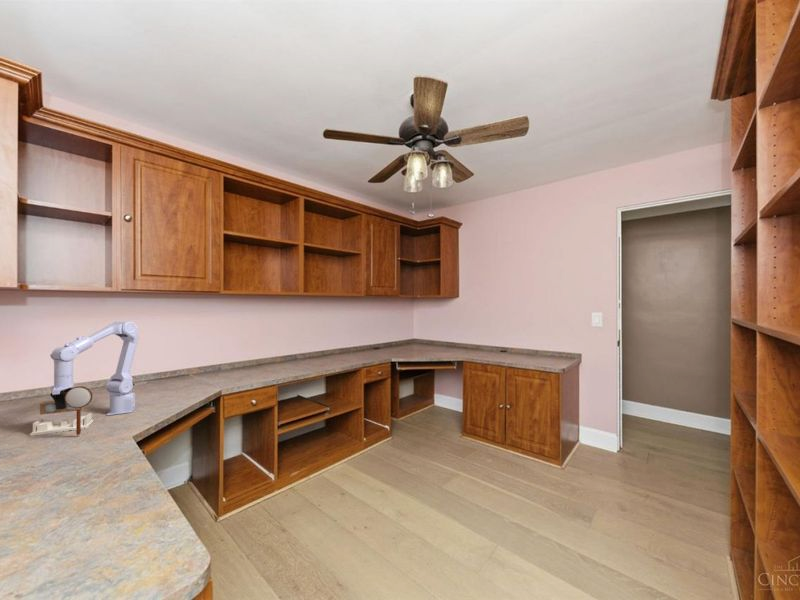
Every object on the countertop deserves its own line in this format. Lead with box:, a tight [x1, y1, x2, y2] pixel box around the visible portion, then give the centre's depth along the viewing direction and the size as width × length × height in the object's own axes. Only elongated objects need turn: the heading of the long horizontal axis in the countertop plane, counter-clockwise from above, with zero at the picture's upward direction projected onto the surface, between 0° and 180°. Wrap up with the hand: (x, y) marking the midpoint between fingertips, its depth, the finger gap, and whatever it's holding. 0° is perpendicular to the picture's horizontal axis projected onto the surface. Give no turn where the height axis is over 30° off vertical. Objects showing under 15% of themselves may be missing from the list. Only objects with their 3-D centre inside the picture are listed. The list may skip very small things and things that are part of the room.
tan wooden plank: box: [39, 400, 86, 415], centre depth 142 cm, size 13×4×4 cm, turn 117°
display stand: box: [29, 412, 95, 437], centre depth 142 cm, size 17×9×4 cm, turn 117°
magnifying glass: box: [65, 385, 93, 437], centre depth 134 cm, size 9×2×20 cm, turn 110°
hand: (63, 407), depth 142 cm, fingers closed on tan wooden plank, 4 cm apart
